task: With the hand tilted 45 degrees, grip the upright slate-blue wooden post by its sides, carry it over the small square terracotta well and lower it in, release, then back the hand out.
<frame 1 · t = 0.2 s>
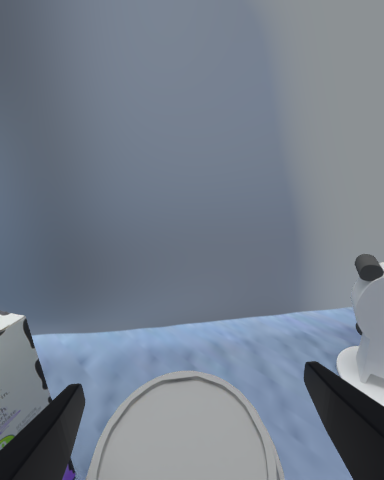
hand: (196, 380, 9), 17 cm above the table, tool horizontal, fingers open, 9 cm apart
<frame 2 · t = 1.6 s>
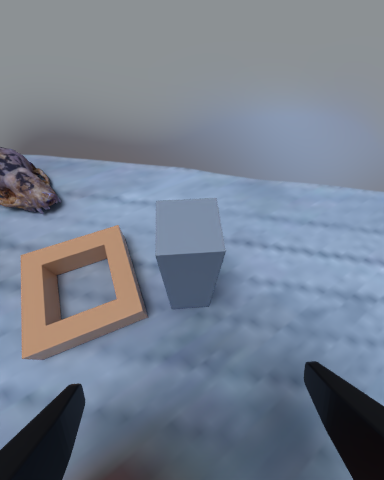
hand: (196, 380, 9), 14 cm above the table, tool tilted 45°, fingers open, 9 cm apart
well: (89, 290, 24), on the table
post: (189, 289, 25), on the table
skull: (29, 196, 32), on the table
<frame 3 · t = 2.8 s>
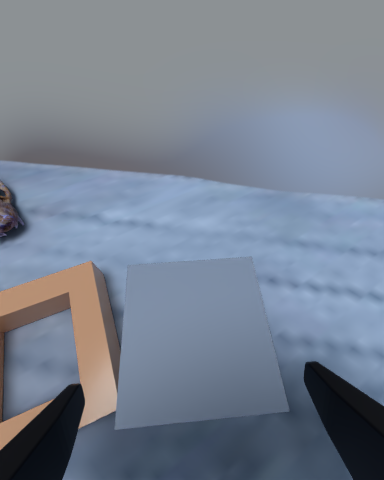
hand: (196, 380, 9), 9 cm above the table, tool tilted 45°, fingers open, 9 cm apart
well: (48, 357, 17), on the table
post: (192, 354, 17), on the table
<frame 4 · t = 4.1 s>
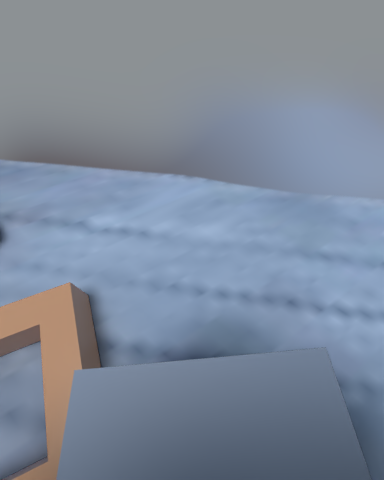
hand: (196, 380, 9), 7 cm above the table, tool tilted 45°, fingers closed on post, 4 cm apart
well: (16, 404, 13), on the table
post: (195, 400, 14), on the table, touching gripper
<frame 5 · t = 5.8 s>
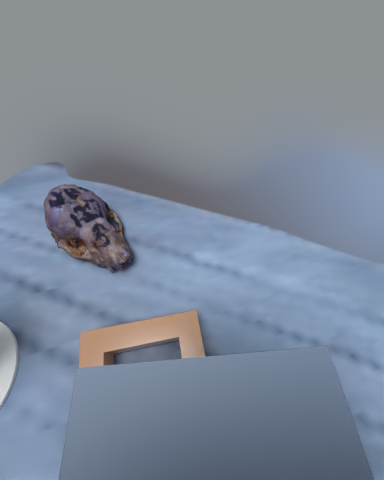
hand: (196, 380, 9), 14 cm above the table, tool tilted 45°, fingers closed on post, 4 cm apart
well: (150, 385, 20), on the table
post: (196, 400, 14), point 7 cm above the table, touching gripper
skull: (98, 242, 28), on the table
when the fingers open (8 cm above the table, at t = 7.7 s): post drops 1 cm, resting in well.
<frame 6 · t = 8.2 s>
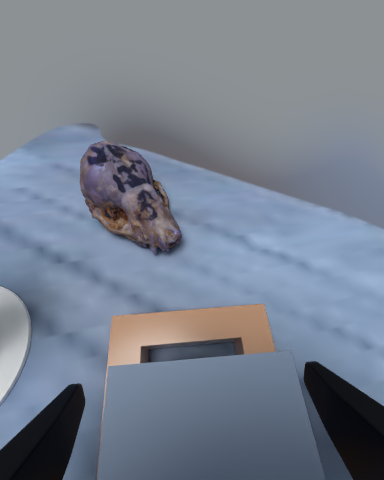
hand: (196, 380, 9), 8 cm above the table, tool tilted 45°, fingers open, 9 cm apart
well: (195, 397, 15), on the table
post: (195, 396, 15), resting in well
skull: (137, 218, 23), on the table
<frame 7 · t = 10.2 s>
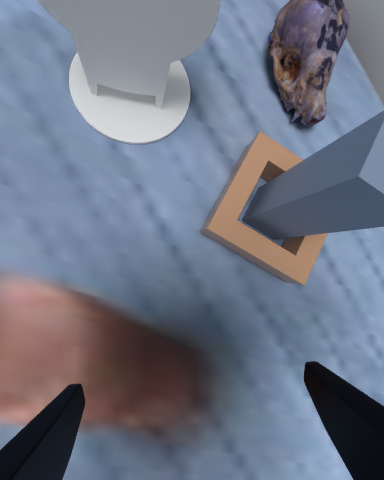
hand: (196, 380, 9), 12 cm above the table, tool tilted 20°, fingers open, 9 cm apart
well: (265, 213, 23), on the table
post: (265, 213, 23), resting in well
skull: (290, 82, 25), on the table
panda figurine: (136, 90, 22), on the table
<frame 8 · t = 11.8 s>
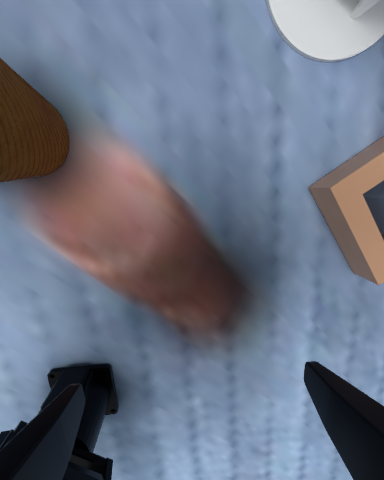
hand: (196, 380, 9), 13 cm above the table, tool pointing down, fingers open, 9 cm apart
well: (380, 201, 21), on the table
post: (380, 201, 21), resting in well
disposable coffee cup: (30, 136, 18), on the table
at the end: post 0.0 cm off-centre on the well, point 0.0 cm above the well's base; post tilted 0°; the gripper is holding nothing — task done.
